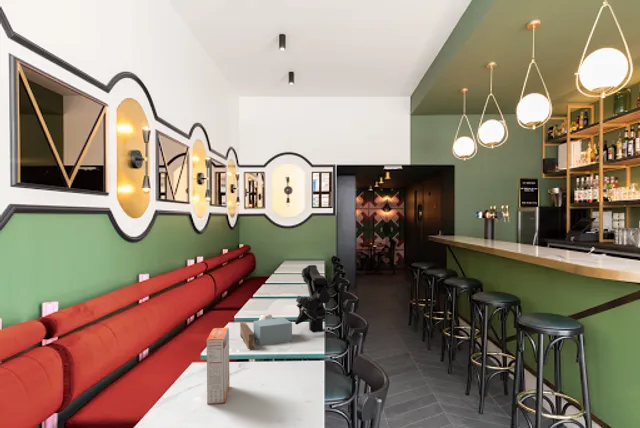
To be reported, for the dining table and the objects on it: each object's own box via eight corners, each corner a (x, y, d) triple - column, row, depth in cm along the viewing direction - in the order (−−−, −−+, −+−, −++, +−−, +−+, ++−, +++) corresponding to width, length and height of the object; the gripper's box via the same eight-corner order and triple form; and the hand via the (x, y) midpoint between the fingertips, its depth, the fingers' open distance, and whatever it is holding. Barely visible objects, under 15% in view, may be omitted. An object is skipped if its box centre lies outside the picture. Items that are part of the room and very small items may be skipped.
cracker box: (212, 387, 142) (212, 327, 142) (230, 386, 143) (229, 327, 143) (205, 404, 128) (205, 339, 128) (224, 403, 129) (224, 338, 129)
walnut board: (245, 335, 206) (245, 321, 206) (254, 349, 183) (254, 334, 183) (240, 336, 205) (240, 322, 205) (248, 350, 182) (248, 334, 183)
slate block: (283, 335, 207) (283, 317, 207) (292, 341, 196) (291, 322, 197) (253, 338, 201) (253, 320, 201) (260, 345, 190) (260, 326, 190)
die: (266, 334, 210) (277, 317, 214) (252, 325, 212) (263, 308, 215) (268, 335, 218) (278, 319, 222) (255, 327, 220) (265, 311, 223)
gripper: (300, 287, 214) (280, 309, 210) (311, 293, 196) (289, 317, 192) (314, 301, 216) (294, 323, 212) (326, 308, 199) (305, 332, 195)
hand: (295, 323), depth 203 cm, fingers closed
